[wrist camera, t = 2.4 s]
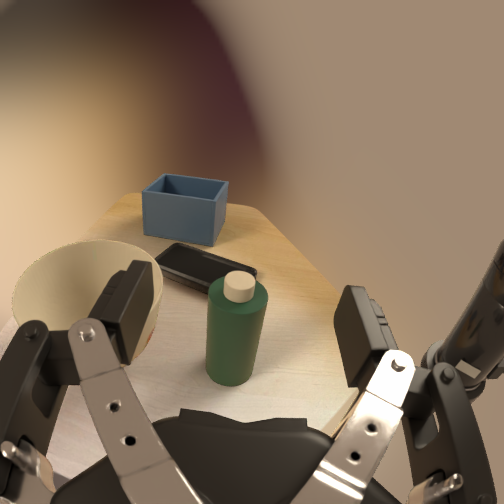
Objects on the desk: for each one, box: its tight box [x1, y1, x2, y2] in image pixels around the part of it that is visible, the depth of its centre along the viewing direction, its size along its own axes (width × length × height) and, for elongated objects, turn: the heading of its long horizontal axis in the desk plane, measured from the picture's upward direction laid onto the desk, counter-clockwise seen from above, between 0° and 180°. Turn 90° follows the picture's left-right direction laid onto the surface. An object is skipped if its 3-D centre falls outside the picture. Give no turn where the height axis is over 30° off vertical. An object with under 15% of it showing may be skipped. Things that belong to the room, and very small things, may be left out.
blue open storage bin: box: [142, 173, 228, 247], centre depth 55 cm, size 13×10×8 cm
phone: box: [154, 243, 257, 294], centre depth 46 cm, size 8×1×15 cm
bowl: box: [12, 240, 163, 367], centre depth 28 cm, size 16×16×10 cm
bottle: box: [206, 271, 268, 386], centre depth 29 cm, size 5×5×12 cm
